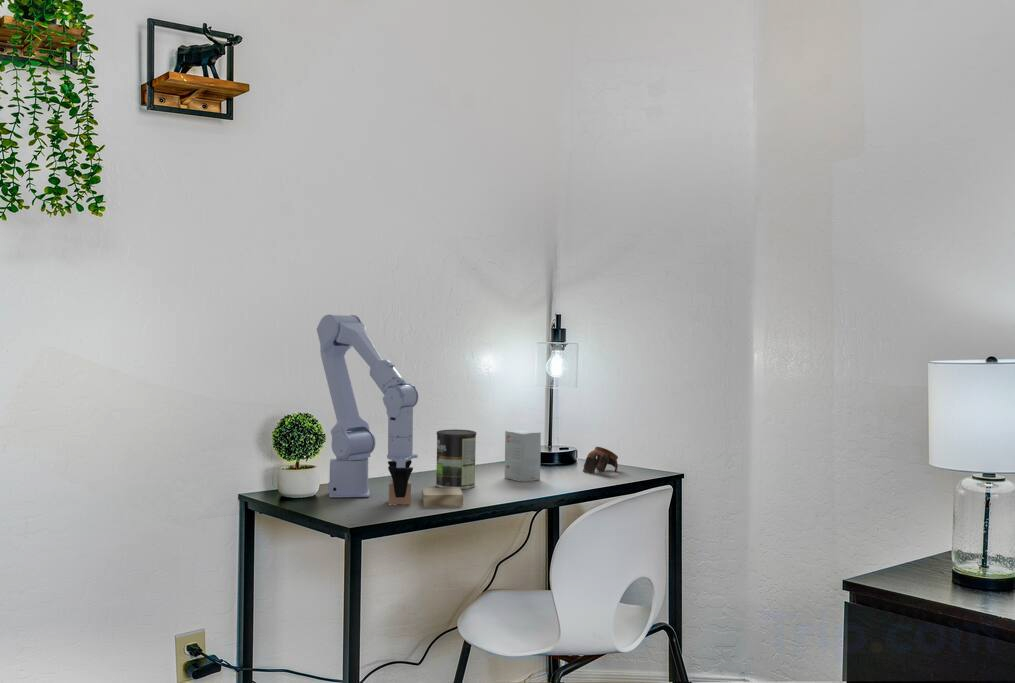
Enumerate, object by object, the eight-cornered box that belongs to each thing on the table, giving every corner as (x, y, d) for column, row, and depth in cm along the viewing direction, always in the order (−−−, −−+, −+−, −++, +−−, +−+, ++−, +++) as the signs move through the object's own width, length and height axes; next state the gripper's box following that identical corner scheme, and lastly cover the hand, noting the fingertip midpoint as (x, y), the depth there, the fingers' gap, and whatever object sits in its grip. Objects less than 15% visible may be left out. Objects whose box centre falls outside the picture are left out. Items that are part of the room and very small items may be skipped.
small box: (540, 480, 235) (541, 432, 235) (522, 482, 231) (523, 433, 231) (521, 475, 242) (522, 429, 241) (503, 478, 238) (504, 430, 237)
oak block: (423, 508, 199) (424, 495, 199) (422, 500, 208) (422, 487, 208) (462, 507, 201) (463, 494, 200) (459, 499, 209) (459, 487, 209)
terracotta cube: (388, 505, 200) (389, 483, 200) (388, 501, 205) (388, 480, 205) (410, 505, 201) (410, 483, 201) (409, 500, 206) (410, 479, 206)
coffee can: (442, 490, 218) (442, 434, 218) (431, 483, 228) (431, 429, 228) (480, 488, 222) (481, 433, 222) (468, 481, 231) (469, 428, 231)
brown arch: (577, 471, 254) (589, 446, 256) (606, 485, 254) (618, 460, 256) (585, 467, 242) (597, 441, 244) (615, 482, 242) (627, 456, 244)
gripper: (419, 439, 196) (418, 499, 196) (416, 432, 210) (415, 487, 211) (387, 440, 195) (387, 500, 195) (386, 432, 209) (386, 488, 210)
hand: (399, 494), depth 203 cm, fingers open, 7 cm apart
